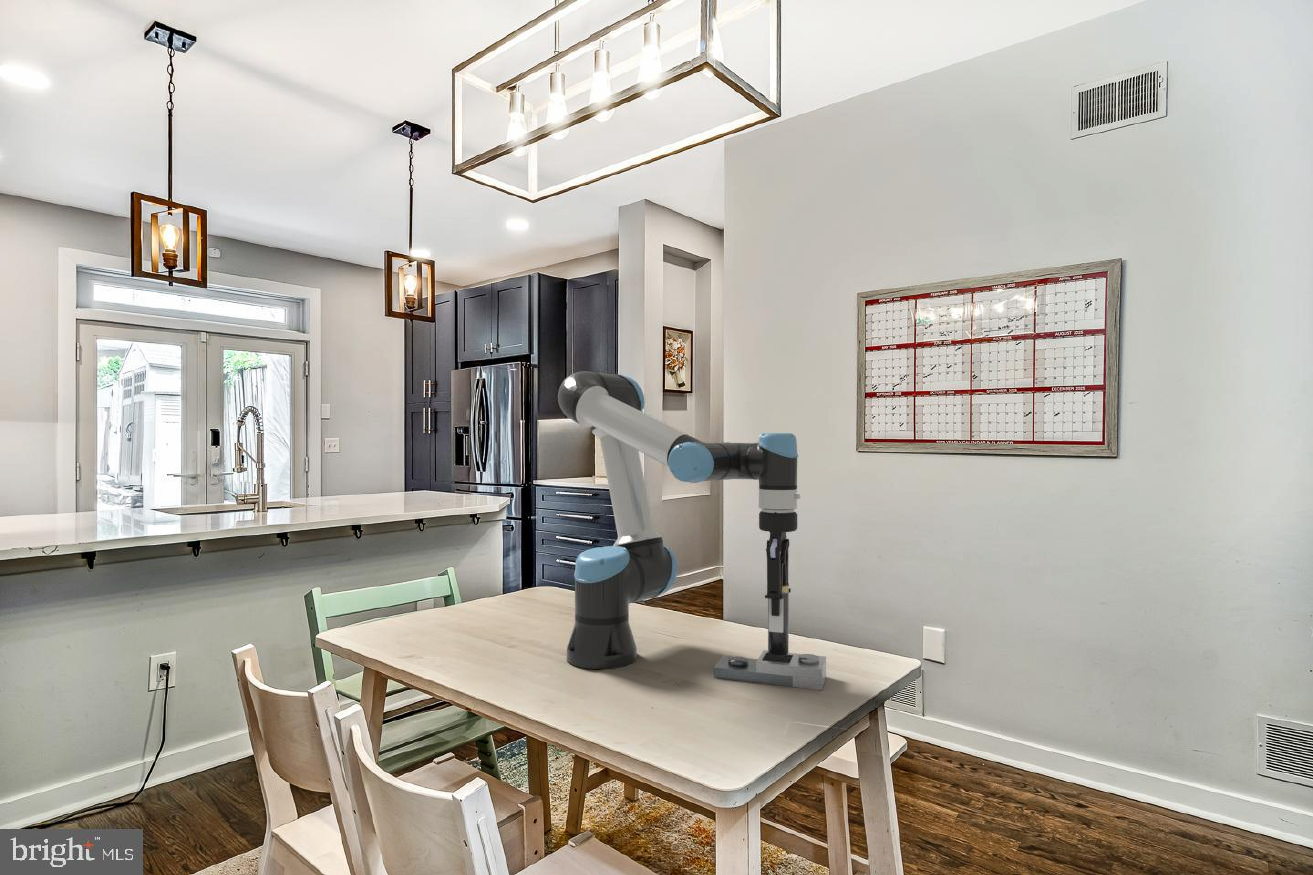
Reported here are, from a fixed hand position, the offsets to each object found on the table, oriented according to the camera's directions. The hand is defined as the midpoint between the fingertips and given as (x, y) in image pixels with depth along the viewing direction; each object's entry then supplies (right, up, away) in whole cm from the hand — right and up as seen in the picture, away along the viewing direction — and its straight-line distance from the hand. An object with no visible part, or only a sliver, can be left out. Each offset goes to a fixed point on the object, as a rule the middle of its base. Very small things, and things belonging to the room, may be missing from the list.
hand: (778, 628), depth 135 cm
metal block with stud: (-2, -10, +1) cm, 10 cm away
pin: (0, -5, 0) cm, 5 cm away
